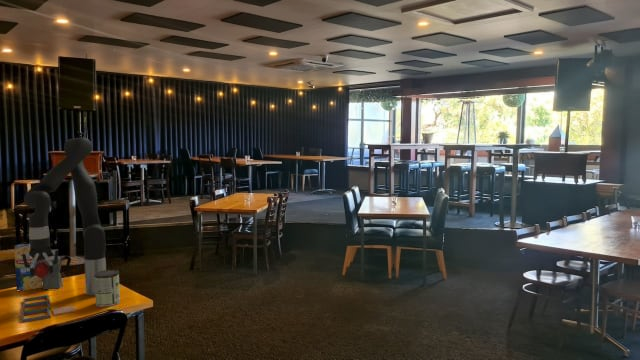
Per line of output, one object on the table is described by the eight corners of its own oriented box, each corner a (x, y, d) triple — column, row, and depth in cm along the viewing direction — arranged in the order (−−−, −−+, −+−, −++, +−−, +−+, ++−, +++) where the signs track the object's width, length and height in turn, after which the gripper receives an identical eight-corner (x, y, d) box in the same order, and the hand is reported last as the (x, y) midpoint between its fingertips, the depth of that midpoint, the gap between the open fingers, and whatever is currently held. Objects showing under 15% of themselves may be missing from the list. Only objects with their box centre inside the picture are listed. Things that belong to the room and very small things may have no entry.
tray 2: (48, 303, 216) (48, 301, 216) (50, 310, 208) (50, 307, 208) (22, 308, 211) (22, 305, 210) (23, 314, 202) (23, 311, 202)
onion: (38, 276, 210) (37, 259, 210) (52, 276, 211) (51, 258, 210) (31, 280, 205) (30, 262, 204) (45, 280, 205) (44, 261, 204)
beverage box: (42, 288, 240) (40, 245, 238) (16, 291, 235) (14, 247, 233) (42, 285, 246) (40, 242, 244) (17, 288, 240) (14, 245, 239)
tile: (72, 306, 212) (72, 305, 212) (75, 311, 205) (74, 310, 205) (52, 310, 207) (52, 308, 207) (53, 315, 201) (53, 314, 200)
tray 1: (48, 297, 225) (48, 294, 225) (49, 303, 217) (49, 300, 217) (23, 301, 220) (23, 298, 220) (24, 307, 211) (23, 304, 211)
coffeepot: (37, 291, 234) (35, 255, 233) (38, 286, 243) (36, 252, 241) (72, 287, 241) (70, 252, 240) (72, 282, 250) (70, 248, 248)
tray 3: (48, 310, 207) (48, 308, 207) (50, 317, 198) (50, 314, 198) (21, 315, 201) (21, 312, 201) (22, 322, 193) (22, 319, 193)
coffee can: (96, 300, 220) (95, 270, 219) (121, 298, 223) (119, 268, 222) (93, 308, 210) (92, 276, 209) (119, 305, 213) (118, 274, 212)
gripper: (57, 233, 213) (60, 270, 215) (19, 237, 206) (22, 275, 207) (59, 236, 207) (61, 274, 208) (19, 240, 199) (22, 279, 201)
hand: (41, 274), depth 208 cm, fingers closed on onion, 6 cm apart
